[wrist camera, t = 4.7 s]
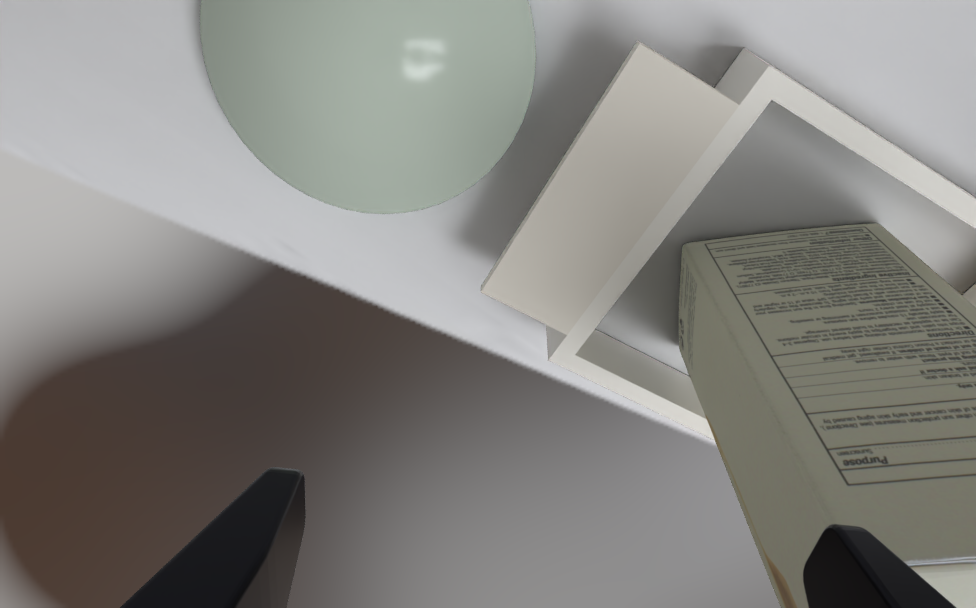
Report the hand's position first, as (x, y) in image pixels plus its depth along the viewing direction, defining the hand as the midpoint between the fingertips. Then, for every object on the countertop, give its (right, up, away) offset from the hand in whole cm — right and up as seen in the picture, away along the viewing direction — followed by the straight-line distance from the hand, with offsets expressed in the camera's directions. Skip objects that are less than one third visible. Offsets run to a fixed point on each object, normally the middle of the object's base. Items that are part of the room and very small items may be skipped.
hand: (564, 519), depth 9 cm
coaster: (-4, +10, +10) cm, 15 cm away
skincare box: (+8, +3, +14) cm, 16 cm away
